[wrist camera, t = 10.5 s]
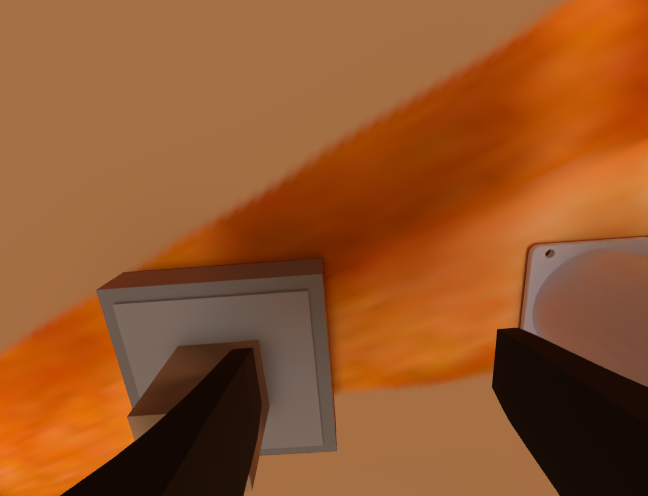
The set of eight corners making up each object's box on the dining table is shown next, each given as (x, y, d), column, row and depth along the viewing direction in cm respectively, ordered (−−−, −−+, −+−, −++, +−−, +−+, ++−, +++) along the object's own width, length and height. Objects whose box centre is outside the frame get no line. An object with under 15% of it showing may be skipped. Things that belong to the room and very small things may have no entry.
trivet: (322, 258, 20) (322, 275, 17) (335, 419, 24) (336, 454, 21) (123, 272, 20) (93, 292, 18) (166, 430, 24) (146, 465, 21)
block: (258, 339, 18) (235, 409, 14) (269, 406, 20) (252, 490, 15) (177, 346, 19) (126, 416, 14) (194, 411, 20) (153, 496, 15)
